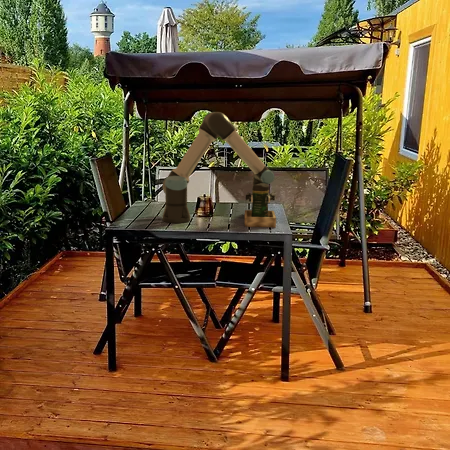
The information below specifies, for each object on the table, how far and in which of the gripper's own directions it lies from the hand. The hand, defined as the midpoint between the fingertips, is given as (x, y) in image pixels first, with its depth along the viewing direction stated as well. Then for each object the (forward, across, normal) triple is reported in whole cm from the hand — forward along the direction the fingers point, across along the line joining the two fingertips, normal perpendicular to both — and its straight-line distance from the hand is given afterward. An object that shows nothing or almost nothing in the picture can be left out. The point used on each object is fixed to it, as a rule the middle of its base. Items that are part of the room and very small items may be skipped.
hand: (260, 200), depth 243 cm
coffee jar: (-5, 0, -11) cm, 12 cm away
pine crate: (-5, 0, -13) cm, 14 cm away
